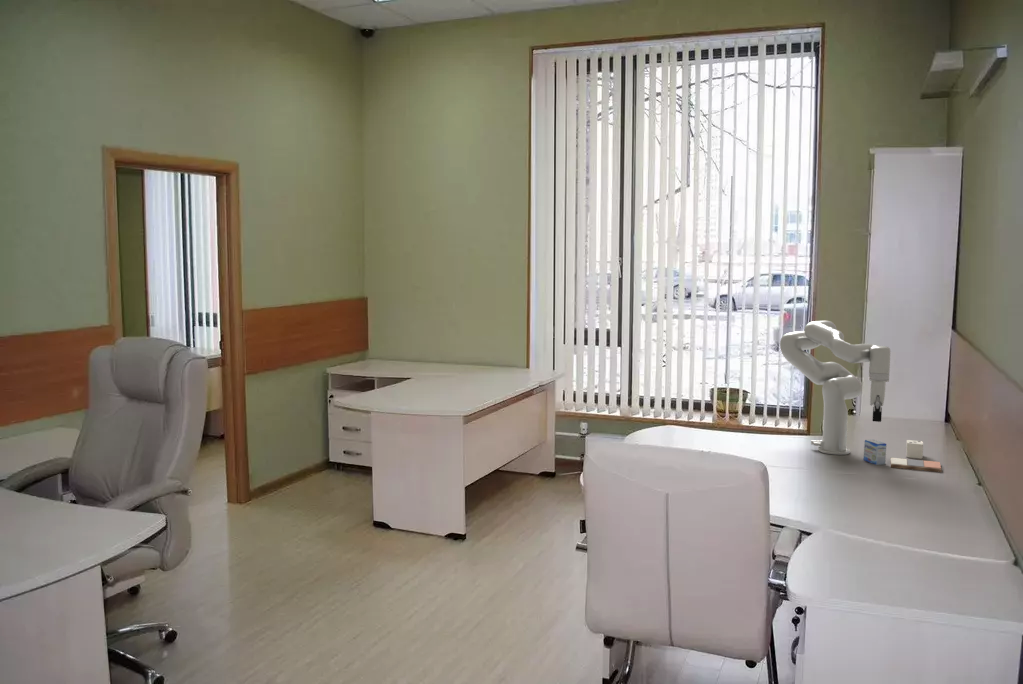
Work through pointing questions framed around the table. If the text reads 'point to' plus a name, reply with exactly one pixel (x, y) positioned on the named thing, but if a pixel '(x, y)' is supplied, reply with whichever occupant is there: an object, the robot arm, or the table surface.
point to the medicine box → (874, 452)
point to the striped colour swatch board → (915, 464)
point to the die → (914, 449)
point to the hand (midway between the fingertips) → (876, 419)
